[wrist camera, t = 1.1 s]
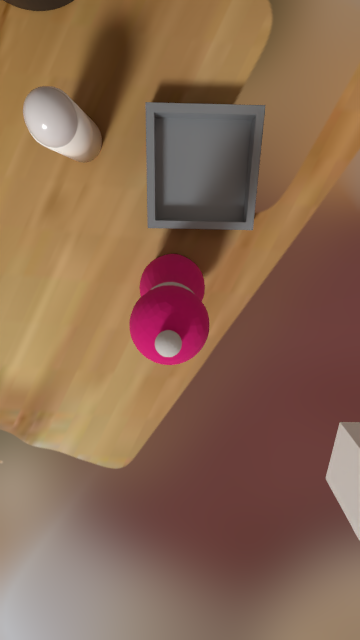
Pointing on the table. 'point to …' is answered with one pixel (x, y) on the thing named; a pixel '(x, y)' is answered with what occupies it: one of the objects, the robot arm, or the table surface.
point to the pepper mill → (170, 311)
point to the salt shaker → (61, 124)
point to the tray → (202, 165)
